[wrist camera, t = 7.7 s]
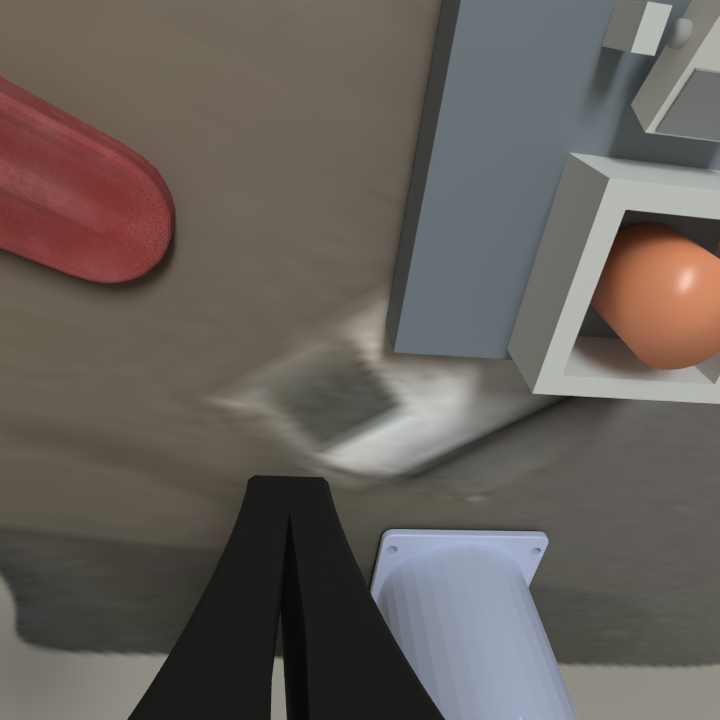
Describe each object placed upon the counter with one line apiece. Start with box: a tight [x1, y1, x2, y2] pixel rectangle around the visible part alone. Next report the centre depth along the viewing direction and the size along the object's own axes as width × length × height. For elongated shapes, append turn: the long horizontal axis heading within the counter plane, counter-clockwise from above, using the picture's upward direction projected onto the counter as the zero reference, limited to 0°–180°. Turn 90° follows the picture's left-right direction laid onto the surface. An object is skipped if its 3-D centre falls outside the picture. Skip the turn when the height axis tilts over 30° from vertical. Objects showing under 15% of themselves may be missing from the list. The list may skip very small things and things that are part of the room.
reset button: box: [590, 223, 720, 370], centre depth 17 cm, size 3×3×3 cm
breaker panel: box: [386, 0, 720, 404], centre depth 16 cm, size 12×11×4 cm
